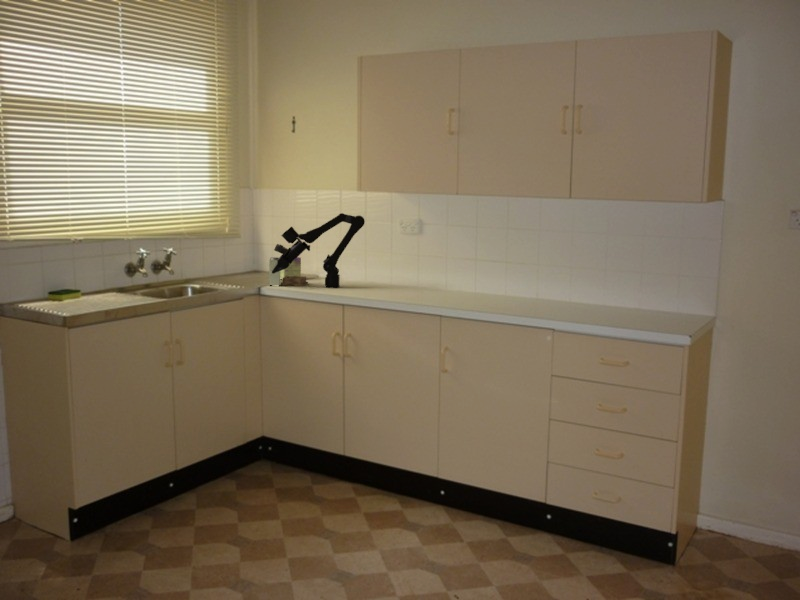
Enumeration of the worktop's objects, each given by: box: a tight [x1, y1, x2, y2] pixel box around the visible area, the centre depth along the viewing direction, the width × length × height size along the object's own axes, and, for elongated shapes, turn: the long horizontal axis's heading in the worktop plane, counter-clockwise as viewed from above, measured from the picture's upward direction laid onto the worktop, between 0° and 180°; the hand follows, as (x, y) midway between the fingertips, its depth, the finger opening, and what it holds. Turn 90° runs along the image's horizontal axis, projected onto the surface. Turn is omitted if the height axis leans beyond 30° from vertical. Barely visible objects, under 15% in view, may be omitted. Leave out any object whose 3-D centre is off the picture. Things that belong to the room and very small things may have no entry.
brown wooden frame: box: [280, 276, 309, 287], centre depth 405 cm, size 12×10×4 cm
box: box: [280, 256, 302, 281], centre depth 422 cm, size 10×6×12 cm, turn 130°
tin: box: [268, 256, 281, 286], centre depth 397 cm, size 5×5×14 cm
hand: (272, 272), depth 397 cm, fingers open, 6 cm apart
